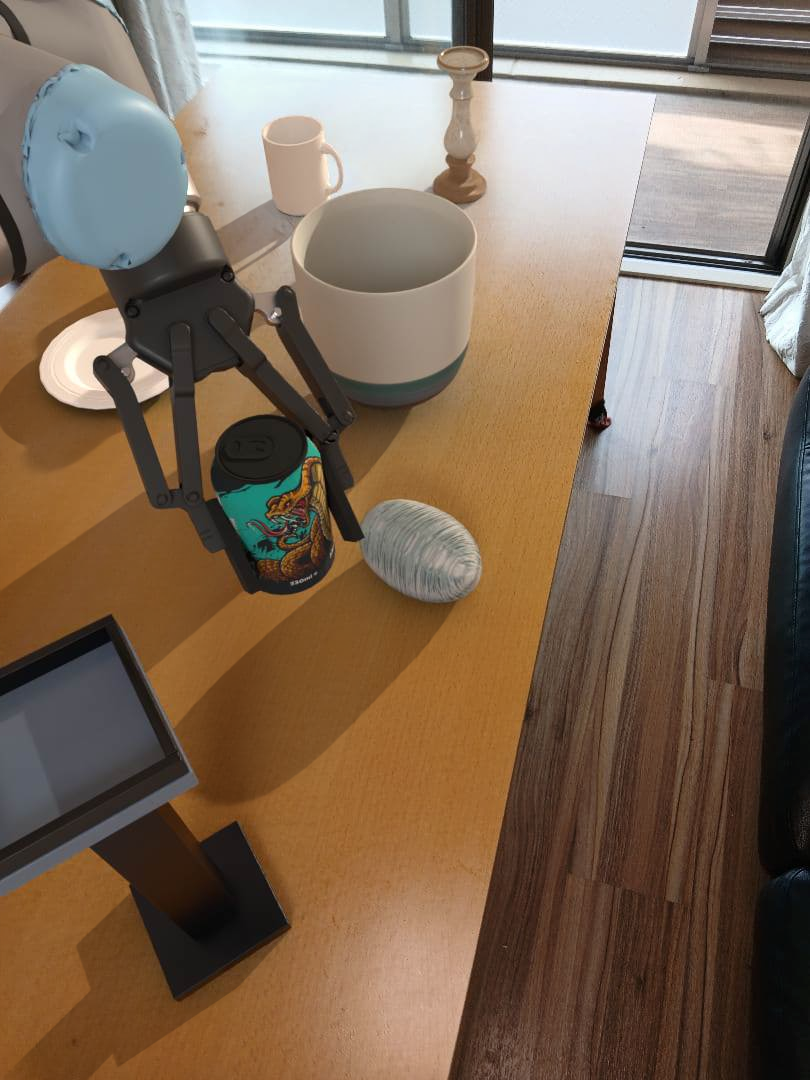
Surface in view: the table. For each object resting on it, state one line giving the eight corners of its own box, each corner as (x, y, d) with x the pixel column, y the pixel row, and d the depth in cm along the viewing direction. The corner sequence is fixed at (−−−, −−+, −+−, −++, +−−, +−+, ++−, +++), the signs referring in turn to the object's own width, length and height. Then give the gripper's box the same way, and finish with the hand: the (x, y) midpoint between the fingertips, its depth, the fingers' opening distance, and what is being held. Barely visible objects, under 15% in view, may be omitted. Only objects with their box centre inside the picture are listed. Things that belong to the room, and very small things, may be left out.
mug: (277, 186, 136) (265, 115, 127) (348, 185, 136) (342, 113, 126) (270, 218, 130) (257, 146, 121) (345, 217, 130) (338, 144, 121)
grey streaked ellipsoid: (347, 561, 90) (334, 553, 80) (391, 487, 91) (383, 470, 81) (454, 624, 89) (454, 623, 79) (498, 549, 89) (503, 539, 79)
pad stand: (178, 1002, 64) (-28, 880, 35) (133, 889, 69) (-79, 703, 41) (292, 928, 67) (185, 760, 38) (240, 825, 72) (112, 610, 44)
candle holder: (497, 187, 134) (505, 54, 118) (462, 210, 130) (465, 75, 114) (457, 169, 138) (460, 38, 121) (422, 190, 134) (420, 58, 118)
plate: (39, 431, 103) (33, 420, 101) (48, 328, 115) (43, 317, 114) (204, 403, 105) (201, 392, 103) (196, 306, 117) (192, 294, 116)
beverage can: (332, 601, 57) (312, 489, 48) (233, 601, 57) (194, 489, 48) (339, 523, 62) (322, 406, 52) (247, 523, 62) (213, 406, 52)
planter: (284, 413, 103) (254, 266, 86) (358, 320, 114) (344, 173, 97) (431, 461, 97) (429, 314, 80) (494, 358, 108) (504, 209, 91)
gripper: (280, 204, 57) (409, 501, 61) (-5, 302, 51) (161, 625, 55) (306, 161, 50) (450, 501, 54) (-21, 270, 44) (171, 643, 48)
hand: (304, 563), depth 55 cm, fingers closed on beverage can, 7 cm apart
